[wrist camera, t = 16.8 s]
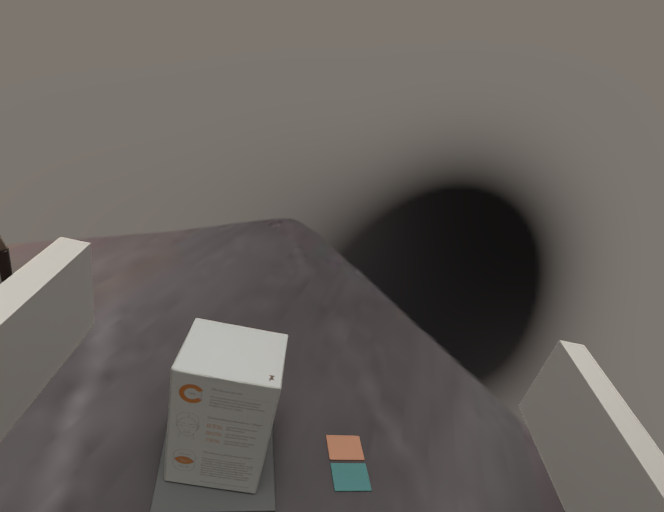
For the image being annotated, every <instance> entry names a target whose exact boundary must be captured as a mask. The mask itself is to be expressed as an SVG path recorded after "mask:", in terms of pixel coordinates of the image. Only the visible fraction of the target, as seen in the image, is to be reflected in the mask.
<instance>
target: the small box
mask: <svg viewBox="0 0 664 512" xmlns="http://www.w3.org/2000/svg"><path fill="white" fill-rule="evenodd" d="M287 341H288V335H287V334H281V333H275V332H270V331H264V330H259V329H254V328H248V327H243V326H237V325H232V324H227V323H221V322H216V321H210V320H205V319H200V318H196V319H195V321H194V323H193V325H192V327H191V329H190V331H189V333H188V335H187V337H186V339H185V341H184V343H183V345H182V347H181V349H180V351H179V353H178V355H177V357H176V359H175V361H174V363H173V365H172V367H171V379H170V396H169V410H168V425H167V438H166V452H165V467H164V480H165V481H171V482H178V483H184V484H191V485H198V486H205V487H211V488H218V489H225V490H232V491H240V492H246V493H253V494H255V493H256V491H257V488H258V484H259V480H260V476H261V472H262V468H263V465H264V461H265V457H266V452H267V448H268V443H269V439H270V435H271V430H272V426H273V422H274V417H275V413H276V409H277V405H278V401H279V397H280V392H281V387H282V378H283V370H284V363H285V355H286V348H287Z"/></svg>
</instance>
